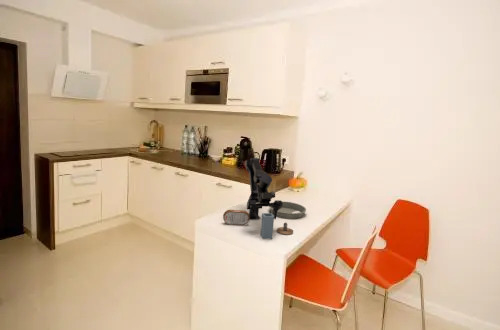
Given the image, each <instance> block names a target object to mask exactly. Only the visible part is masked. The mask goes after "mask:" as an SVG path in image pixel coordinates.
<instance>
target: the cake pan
mask: <svg viewBox="0 0 500 330" xmlns="http://www.w3.org/2000/svg"><path fill="white" fill-rule="evenodd" d="M281 201H282V200H281ZM282 202H283V205H282V207H281V209H279V210H278V211H277V215H276V217H278V218H282V219H289V220H290V219H291V220H293V219H294V220H295V219H300V218H303V216H304V214H305V213H306V212H307V208H306V207H305V206H304V205H302V204H299V203H295V202H292V201H282ZM271 203H274V201H272V202H271ZM268 208H269V209H270V213H272V215H273V216H274V214H273V206H268Z"/></svg>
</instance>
